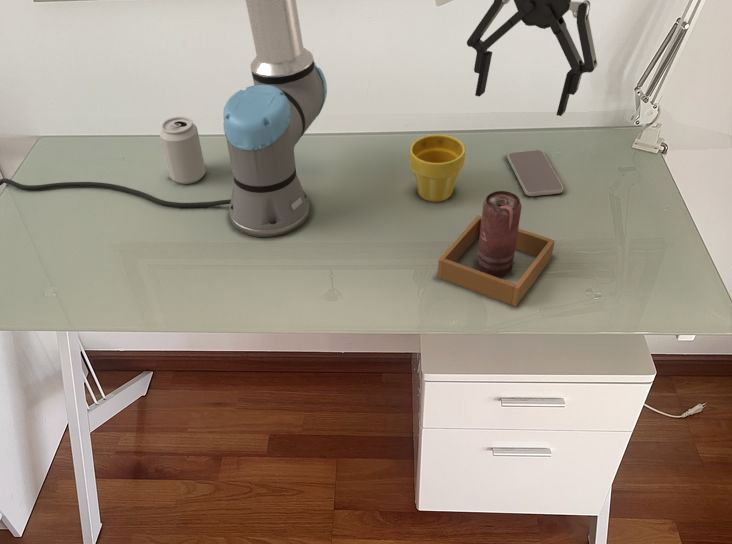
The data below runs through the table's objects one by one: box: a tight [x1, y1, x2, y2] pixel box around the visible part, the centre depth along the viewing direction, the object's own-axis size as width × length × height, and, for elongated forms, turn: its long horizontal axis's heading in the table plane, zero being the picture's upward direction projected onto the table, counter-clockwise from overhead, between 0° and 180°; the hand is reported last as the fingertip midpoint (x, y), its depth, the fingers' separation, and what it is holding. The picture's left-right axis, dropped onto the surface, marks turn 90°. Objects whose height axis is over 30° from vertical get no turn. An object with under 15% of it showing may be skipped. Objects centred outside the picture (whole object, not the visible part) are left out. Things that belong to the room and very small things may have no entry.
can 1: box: [159, 116, 207, 185], centre depth 153 cm, size 8×8×12 cm
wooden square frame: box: [437, 215, 556, 308], centre depth 130 cm, size 15×15×4 cm
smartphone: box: [507, 149, 564, 197], centre depth 150 cm, size 7×1×15 cm
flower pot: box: [409, 133, 466, 203], centre depth 145 cm, size 10×10×10 cm
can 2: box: [476, 190, 522, 278], centre depth 126 cm, size 6×6×14 cm
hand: (519, 103), depth 122 cm, fingers open, 13 cm apart
